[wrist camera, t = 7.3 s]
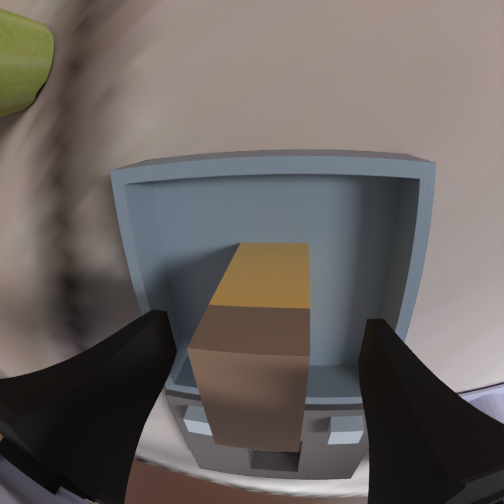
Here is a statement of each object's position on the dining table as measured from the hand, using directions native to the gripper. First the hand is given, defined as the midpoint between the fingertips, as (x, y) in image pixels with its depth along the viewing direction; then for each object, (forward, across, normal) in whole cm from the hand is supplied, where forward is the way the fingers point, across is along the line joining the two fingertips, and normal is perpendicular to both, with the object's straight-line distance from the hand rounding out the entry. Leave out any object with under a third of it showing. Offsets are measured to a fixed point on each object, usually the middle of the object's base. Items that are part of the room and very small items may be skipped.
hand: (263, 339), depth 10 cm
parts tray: (+5, 0, 0) cm, 5 cm away
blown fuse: (+4, 0, 0) cm, 4 cm away
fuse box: (+5, 0, +14) cm, 15 cm away
